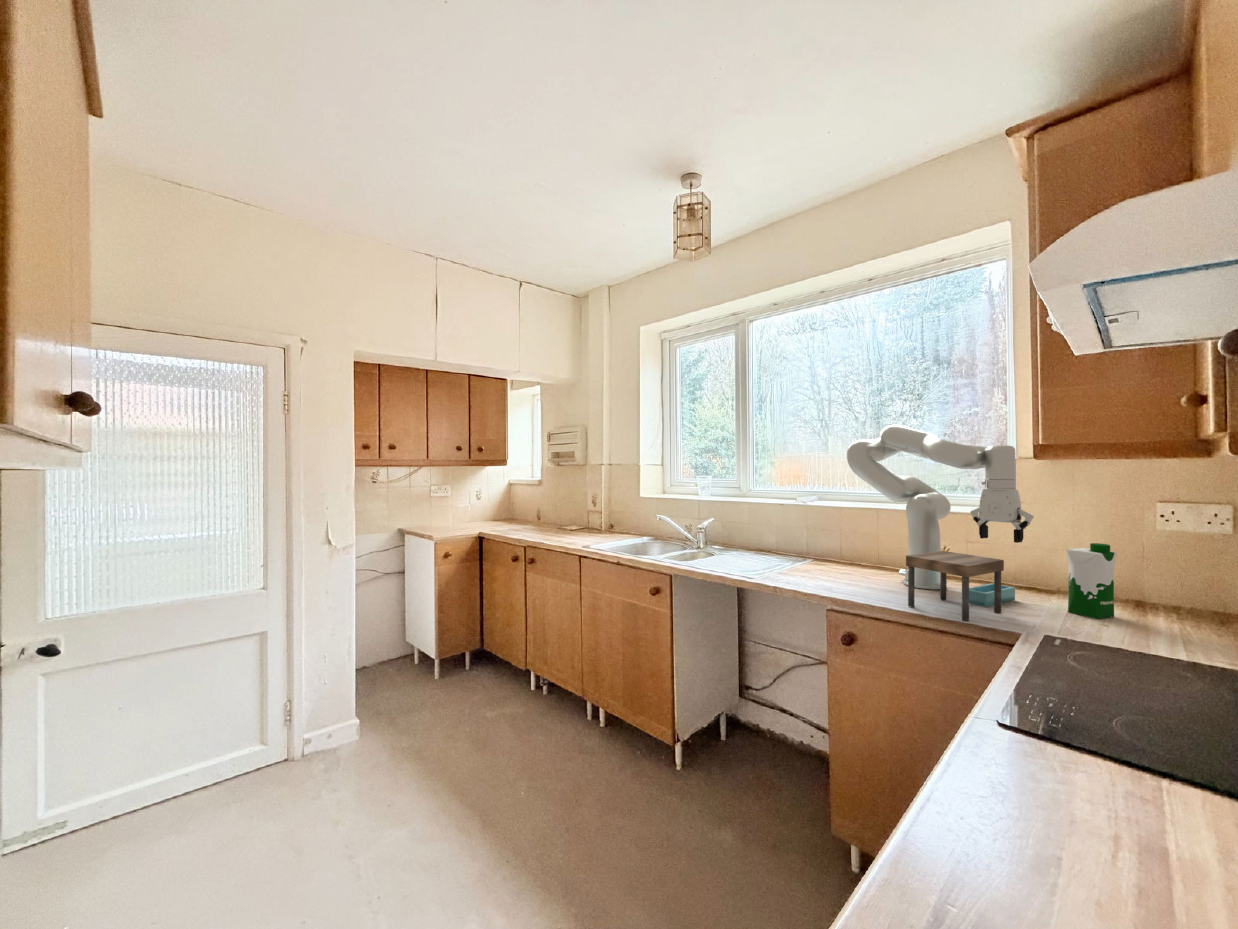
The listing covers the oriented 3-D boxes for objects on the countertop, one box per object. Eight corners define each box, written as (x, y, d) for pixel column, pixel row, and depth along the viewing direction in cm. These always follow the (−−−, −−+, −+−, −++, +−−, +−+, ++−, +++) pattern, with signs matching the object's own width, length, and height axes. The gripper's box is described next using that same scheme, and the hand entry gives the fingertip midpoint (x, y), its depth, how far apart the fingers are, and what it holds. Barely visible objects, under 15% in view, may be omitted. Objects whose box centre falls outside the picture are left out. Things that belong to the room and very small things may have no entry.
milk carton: (1099, 620, 137) (1100, 546, 137) (1061, 611, 145) (1061, 541, 145) (1120, 617, 140) (1121, 544, 139) (1081, 608, 148) (1082, 540, 148)
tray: (963, 602, 155) (963, 589, 155) (991, 595, 163) (991, 583, 163) (986, 607, 150) (986, 593, 150) (1014, 600, 157) (1015, 587, 157)
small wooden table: (905, 606, 151) (906, 555, 151) (942, 598, 159) (942, 550, 159) (967, 622, 136) (967, 566, 136) (1003, 613, 144) (1003, 560, 144)
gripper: (964, 484, 165) (964, 537, 165) (1024, 486, 149) (1025, 545, 149) (978, 484, 168) (978, 536, 168) (1039, 485, 152) (1039, 543, 152)
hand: (1000, 540), depth 158 cm, fingers open, 9 cm apart
